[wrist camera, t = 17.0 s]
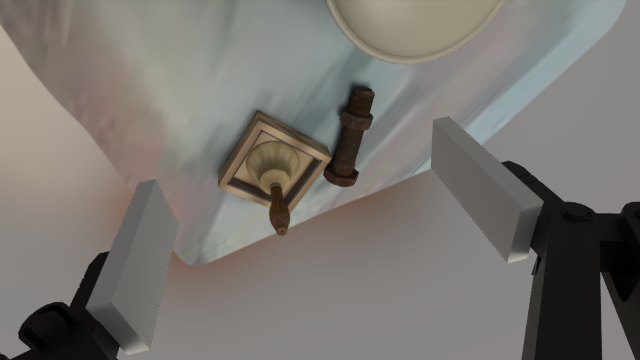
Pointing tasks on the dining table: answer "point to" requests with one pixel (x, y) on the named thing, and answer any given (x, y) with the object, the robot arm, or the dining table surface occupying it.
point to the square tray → (272, 130)
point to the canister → (411, 26)
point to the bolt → (351, 138)
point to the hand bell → (274, 177)
